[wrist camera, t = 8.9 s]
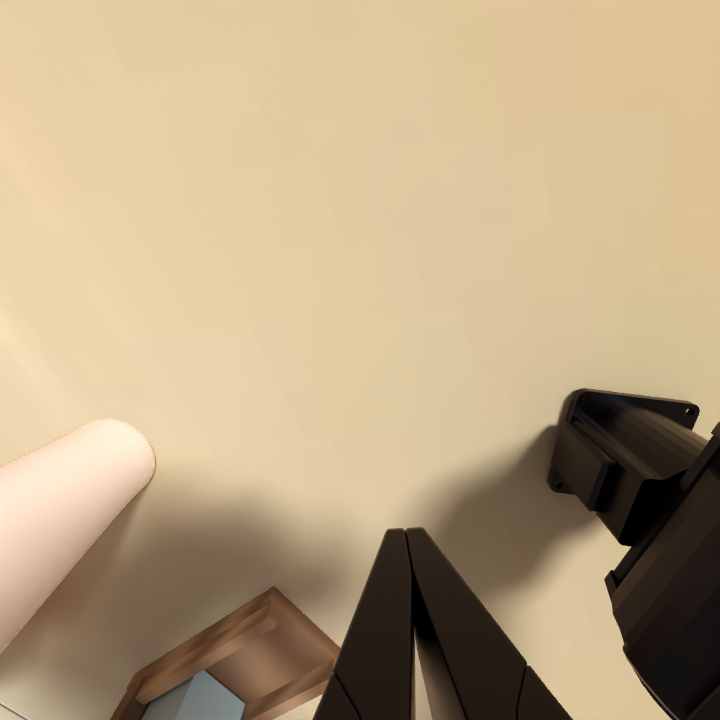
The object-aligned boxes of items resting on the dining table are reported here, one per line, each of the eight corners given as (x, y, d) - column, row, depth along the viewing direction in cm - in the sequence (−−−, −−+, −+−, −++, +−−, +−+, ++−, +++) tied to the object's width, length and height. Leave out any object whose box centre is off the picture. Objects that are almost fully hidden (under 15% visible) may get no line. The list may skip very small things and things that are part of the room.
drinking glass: (174, 501, 24) (-126, 863, 10) (77, 490, 25) (-352, 828, 10) (166, 409, 22) (-228, 698, 8) (60, 398, 23) (-504, 660, 8)
